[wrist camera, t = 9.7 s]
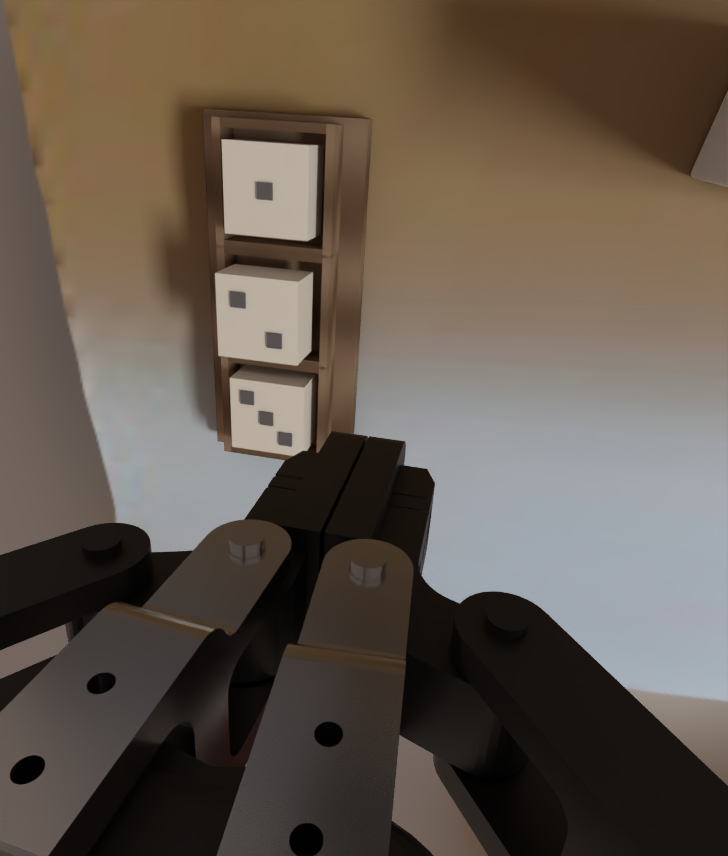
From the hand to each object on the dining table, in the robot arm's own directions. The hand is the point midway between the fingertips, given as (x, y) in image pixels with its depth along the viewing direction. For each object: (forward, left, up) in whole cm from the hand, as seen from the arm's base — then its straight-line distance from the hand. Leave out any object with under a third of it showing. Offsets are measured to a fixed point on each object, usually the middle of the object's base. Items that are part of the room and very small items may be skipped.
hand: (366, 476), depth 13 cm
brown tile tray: (+4, -11, -29) cm, 31 cm away
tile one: (-3, -11, -28) cm, 30 cm away
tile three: (+11, -11, -28) cm, 32 cm away
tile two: (+4, -11, -26) cm, 29 cm away
